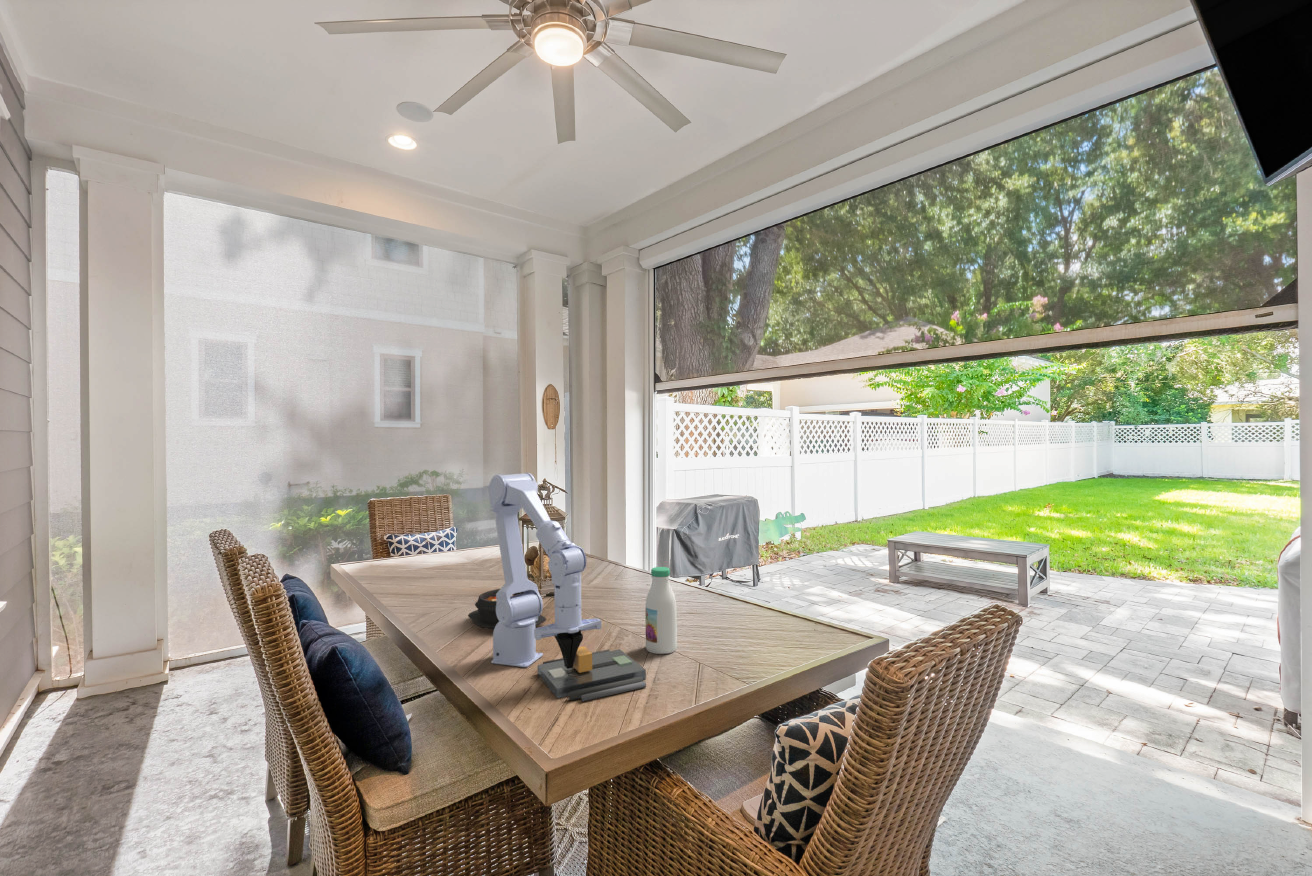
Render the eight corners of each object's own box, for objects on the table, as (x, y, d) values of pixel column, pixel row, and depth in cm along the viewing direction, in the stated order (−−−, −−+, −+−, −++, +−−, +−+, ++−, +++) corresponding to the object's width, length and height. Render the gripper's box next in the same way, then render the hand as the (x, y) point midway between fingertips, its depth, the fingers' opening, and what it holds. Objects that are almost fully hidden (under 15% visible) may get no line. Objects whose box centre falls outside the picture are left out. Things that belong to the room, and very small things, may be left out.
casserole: (561, 623, 168) (561, 593, 168) (508, 642, 153) (508, 609, 153) (505, 608, 183) (504, 581, 183) (451, 624, 169) (451, 594, 168)
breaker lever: (579, 672, 127) (578, 655, 127) (571, 664, 132) (571, 648, 131) (592, 670, 128) (592, 653, 128) (584, 662, 133) (584, 646, 133)
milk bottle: (675, 643, 151) (675, 564, 151) (678, 654, 143) (677, 571, 143) (645, 644, 151) (644, 565, 151) (646, 655, 143) (645, 572, 143)
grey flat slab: (557, 698, 120) (556, 687, 120) (537, 673, 133) (537, 663, 133) (645, 678, 129) (645, 668, 129) (619, 657, 142) (619, 647, 142)
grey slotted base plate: (573, 704, 117) (573, 696, 117) (542, 667, 136) (542, 660, 136) (646, 688, 125) (646, 680, 125) (607, 655, 143) (607, 648, 143)
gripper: (540, 613, 122) (541, 680, 122) (606, 603, 128) (607, 666, 128) (531, 605, 128) (531, 668, 128) (594, 596, 135) (595, 655, 135)
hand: (568, 666), depth 129 cm, fingers closed
